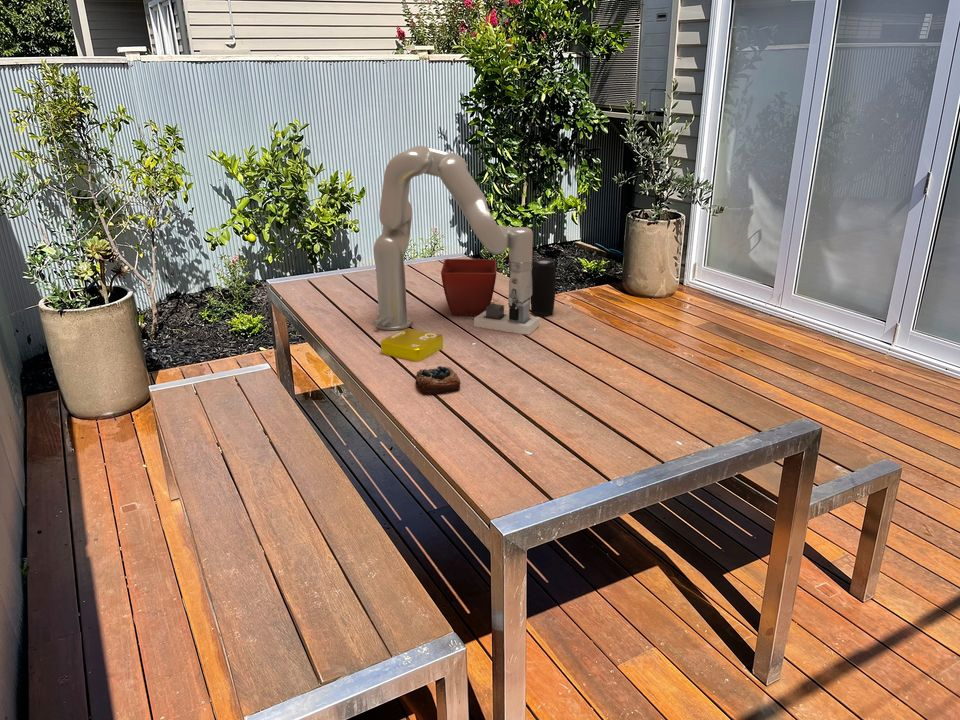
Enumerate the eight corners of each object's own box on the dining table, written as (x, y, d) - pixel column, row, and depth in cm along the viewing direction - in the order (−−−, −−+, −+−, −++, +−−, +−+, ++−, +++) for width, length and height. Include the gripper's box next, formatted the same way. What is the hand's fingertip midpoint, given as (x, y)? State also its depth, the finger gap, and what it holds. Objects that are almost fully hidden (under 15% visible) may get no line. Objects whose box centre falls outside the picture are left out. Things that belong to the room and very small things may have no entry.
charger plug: (523, 329, 235) (523, 303, 231) (509, 327, 237) (509, 301, 233) (528, 325, 239) (529, 299, 235) (515, 322, 241) (515, 297, 237)
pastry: (412, 382, 197) (411, 362, 195) (453, 376, 200) (452, 357, 198) (421, 398, 187) (420, 377, 185) (464, 392, 191) (464, 372, 189)
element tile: (406, 339, 229) (406, 325, 227) (445, 348, 222) (445, 333, 220) (378, 354, 217) (377, 339, 215) (418, 363, 210) (418, 348, 208)
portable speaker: (528, 316, 249) (529, 262, 242) (532, 308, 257) (533, 256, 250) (552, 318, 247) (554, 264, 240) (555, 310, 256) (557, 257, 249)
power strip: (528, 335, 232) (529, 316, 229) (474, 326, 240) (474, 308, 237) (547, 319, 247) (548, 301, 244) (495, 311, 254) (495, 294, 252)
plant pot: (496, 319, 247) (496, 272, 240) (441, 319, 247) (440, 272, 241) (496, 303, 264) (496, 259, 258) (445, 302, 265) (444, 258, 258)
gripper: (521, 273, 221) (520, 324, 228) (540, 261, 236) (539, 309, 242) (499, 270, 224) (498, 321, 231) (519, 258, 239) (518, 306, 245)
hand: (519, 315), depth 236 cm, fingers open, 9 cm apart
